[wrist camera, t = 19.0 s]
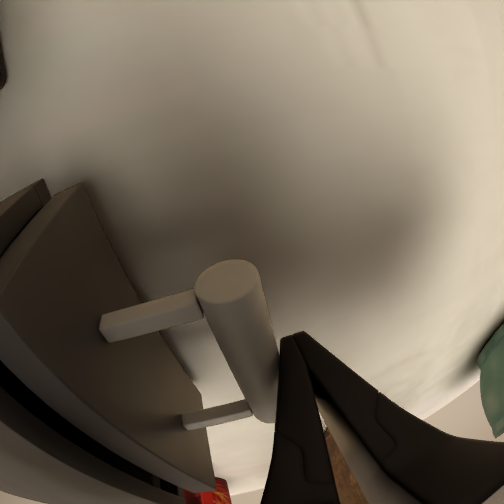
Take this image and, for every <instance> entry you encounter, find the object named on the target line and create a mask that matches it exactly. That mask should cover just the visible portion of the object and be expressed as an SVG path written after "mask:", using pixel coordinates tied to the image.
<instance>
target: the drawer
mask: <svg viewBox="0 0 504 504" xmlns="http://www.w3.org/2000/svg"><path fill="white" fill-rule="evenodd" d="M203 312H204V314H205V316H206V319H207V321H208V323H209V325H210V327H211V330H212V332H213V334H214V336H215V338H216V340H217V342H218V344H219V347H220V349H221V351H222V353H223V355H224V357H225V359H226V361H227V363H228V365H229V367H230V369H231V371H232V373H233V375H234V377H235V379H236V381H237V383H238V385H239V387H240V389H241V391H242V393H243V395H244V397H245V399H244V400H240V401H237V402H233V403H229V404H225V405H221V406H216V407H212V408H208V409H203V404H202V397H201V393H200V392H199V391H198V389H197V388H196V387H195V385H194V384H193V382H192V381H191V380H190V378H189V377H188V375H187V374H186V372H185V371H184V369H183V368H182V367H181V365H180V364H179V362H178V361H177V359H176V358H175V356H174V355H173V353H172V352H171V350H170V349H169V347H168V345H167V344H166V342H165V341H164V339H163V338H162V336H161V334H160V333H159V330H163V329H167V328H171V327H175V326H178V325H182V324H186V323H189V322H193V321H197V320H200V319H203V317H204V314H203ZM278 373H279V352H278V348H277V344H276V340H275V336H274V332H273V328H272V324H271V320H270V316H269V312H268V308H267V304H266V300H265V296H264V292H263V288H262V284H261V280H260V276H259V272H258V270H257V268H256V267H255V266H254V265H253V264H252V263H250V262H248V261H245V260H238V259H234V260H226V261H222V262H219V263H216V264H214V265H212V266H210V267H209V268H207V269H206V270H204V271H203V272H202V273H201V274H200V275H199V277H198V278H197V280H196V282H195V287H194V289H191V290H188V291H184V292H181V293H177V294H174V295H170V296H167V297H163V298H160V299H156V300H153V301H149V302H146V303H141V301H140V300H139V298H138V296H137V294H136V292H135V291H134V289H133V287H132V285H131V284H130V282H129V280H128V278H127V276H126V274H125V272H124V271H123V269H122V267H121V265H120V263H119V261H118V259H117V257H116V255H115V253H114V251H113V249H112V247H111V245H110V243H109V241H108V239H107V237H106V235H105V233H104V231H103V229H102V227H101V225H100V222H99V220H98V218H97V216H96V214H95V211H94V209H93V207H92V205H91V202H90V200H89V198H88V195H87V193H86V191H85V188H84V186H83V184H82V183H80V184H77V185H75V186H73V187H71V188H69V189H66V190H64V191H62V192H60V193H58V194H56V195H54V196H53V197H52V198H51V199H50V201H49V202H48V203H47V204H46V205H45V206H44V207H43V208H42V209H41V210H40V211H39V212H38V213H37V215H36V216H35V217H34V218H33V219H32V220H31V221H30V222H29V224H28V225H27V226H26V227H25V228H24V229H23V231H22V232H21V233H20V234H19V235H18V237H17V238H15V239H13V240H12V241H11V242H10V244H9V245H8V246H7V247H6V249H5V250H4V251H3V252H2V254H1V255H0V386H1V387H2V388H3V389H4V390H5V391H6V392H7V393H8V394H9V395H10V396H12V397H13V398H14V399H15V400H16V401H17V402H19V403H20V404H21V405H22V406H23V407H24V408H26V409H27V410H28V411H29V412H31V413H32V414H33V415H34V416H36V417H37V418H38V419H40V420H41V421H42V422H43V423H45V424H46V425H48V426H49V427H50V428H52V429H53V430H54V431H56V432H57V433H59V434H60V435H62V436H63V437H64V438H66V439H67V440H69V441H70V442H72V443H74V444H75V445H77V446H78V447H80V448H81V449H83V450H85V451H86V452H88V453H90V454H91V455H93V456H95V457H96V458H98V459H100V460H102V461H103V462H105V463H107V464H109V465H111V466H113V467H114V468H116V469H118V470H120V471H122V472H124V473H126V474H128V475H130V476H132V477H134V478H136V479H139V480H141V481H143V482H145V483H147V484H150V485H152V486H154V487H157V488H159V489H161V487H160V478H161V479H163V480H165V481H168V482H170V483H172V484H174V485H176V486H178V487H181V488H183V489H185V490H188V491H190V492H192V493H199V492H207V491H214V490H217V487H216V482H215V476H214V471H213V466H212V460H211V455H210V449H209V443H208V437H207V431H206V427H208V426H213V425H217V424H222V423H226V422H230V421H235V420H239V419H243V418H247V417H250V416H253V414H254V416H255V417H256V418H257V419H258V420H260V421H262V422H264V423H275V419H276V405H277V389H278ZM252 412H253V413H252Z"/></svg>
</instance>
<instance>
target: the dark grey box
mask: <svg viewBox="0 0 504 504" xmlns="http://www.w3.org/2000/svg"><path fill="white" fill-rule="evenodd" d="M50 199H51V197H50V195H49V192H48V190H47V188H46V185H45V183H44V180H43V179H41V180H39V181H37V182H35V183H33V184H31V185H30V186H28V187H26V188H24V189H22V190H21V191H19V192H17V193H15V194H14V195H12V196H10V197H9V198H7V199H5V200H4V201H2V202H0V255H1V254H2V252H3V251H4V250H5V249H6V247H7V246H8V245H9V244H10V242H11V241H12V240H13V239H15V238H17V237H18V235H19V234H20V233H21V232H22V231H23V229H24V228H25V227H26V226H27V225H28V224H29V222H30V221H31V220H32V219H33V218H34V217H35V216H36V215H37V213H38V212H39V211H40V210H41V209H42V208H43V207H44V206H45V205H46V204H47V203H48V202H49V201H50ZM160 487H161V489H159V488H157V487H154V486H152V485H150V484H147V483H145V482H143V481H141V480H139V479H136V478H134V477H132V476H130V475H128V474H126V473H124V472H122V471H120V470H118V469H116V468H114V467H113V466H111V465H109V464H107V463H105V462H103V461H102V460H100V459H98V458H96V457H95V456H93V455H91V454H90V453H88V452H86V451H85V450H83V449H81V448H80V447H78V446H77V445H75V444H74V443H72V442H70V441H69V440H67V439H66V438H64V437H63V436H62V435H60V434H59V433H57V432H56V431H54V430H53V429H52V428H50V427H49V426H48V425H46V424H45V423H43V422H42V421H41V420H40V419H38V418H37V417H36V416H34V415H33V414H32V413H31V412H29V411H28V410H27V409H26V408H24V407H23V406H22V405H21V404H20V403H19V402H17V401H16V400H15V399H14V398H13V397H12V396H10V395H9V394H8V393H7V392H6V391H5V390H4V389H3V388H2V387H1V386H0V490H1V491H3V492H5V493H8V494H12V495H15V496H19V497H22V498H26V499H30V500H34V501H39V502H42V503H47V504H186V500H185V495H184V489H183V488H181V487H178V486H176V485H174V484H172V483H170V482H168V481H165V480H163V479H161V478H160Z"/></svg>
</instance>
